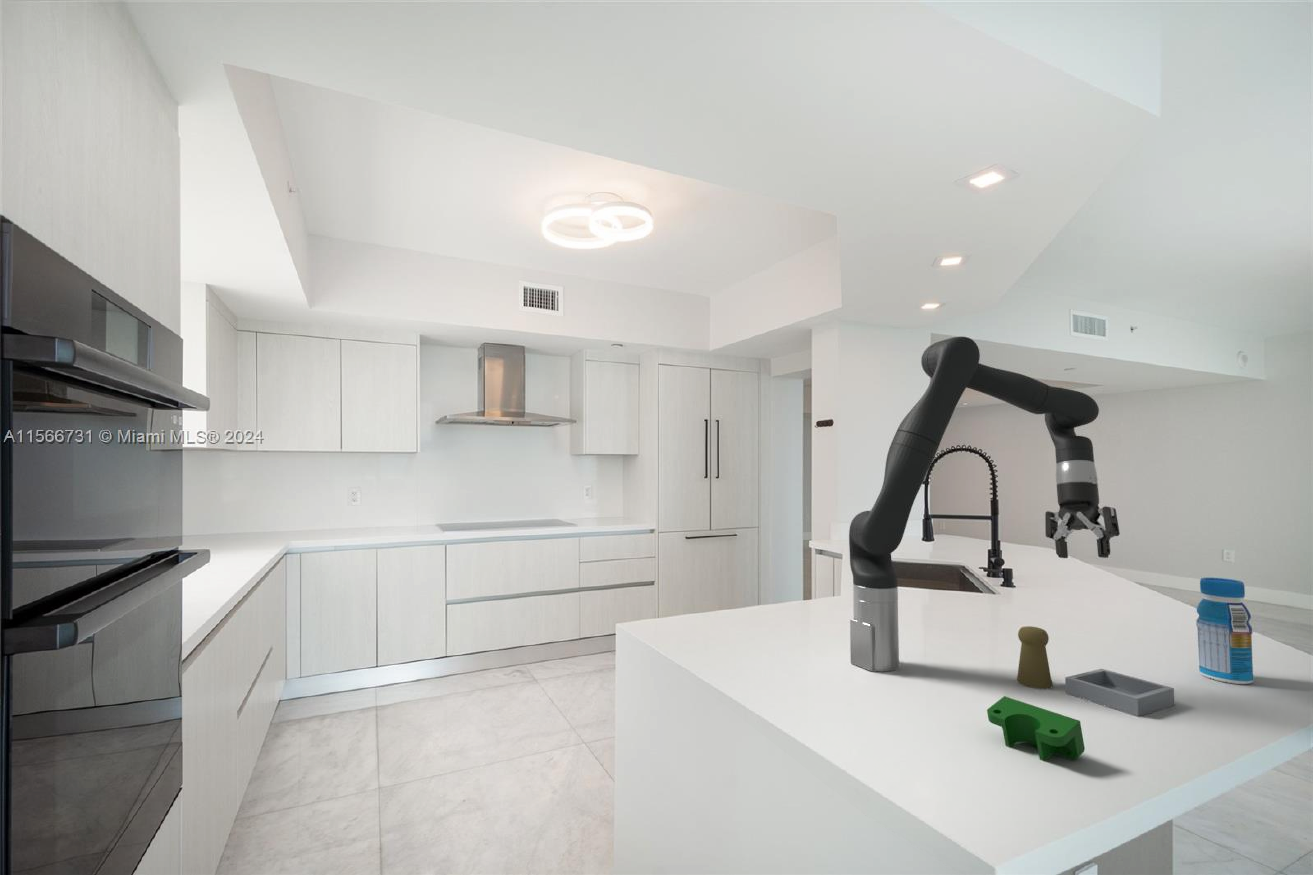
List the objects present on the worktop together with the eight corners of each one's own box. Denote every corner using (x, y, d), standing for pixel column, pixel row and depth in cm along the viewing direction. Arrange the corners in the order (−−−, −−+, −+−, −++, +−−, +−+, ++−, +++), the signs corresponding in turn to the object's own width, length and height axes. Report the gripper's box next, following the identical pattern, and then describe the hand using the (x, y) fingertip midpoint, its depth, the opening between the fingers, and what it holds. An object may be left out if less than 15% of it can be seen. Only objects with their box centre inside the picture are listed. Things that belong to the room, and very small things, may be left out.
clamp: (1005, 771, 94) (974, 712, 97) (1026, 753, 97) (995, 697, 100) (1078, 773, 85) (1041, 708, 87) (1098, 753, 88) (1062, 691, 90)
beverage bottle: (1197, 678, 124) (1193, 580, 125) (1198, 668, 131) (1195, 575, 132) (1255, 688, 119) (1250, 585, 120) (1253, 678, 125) (1249, 580, 126)
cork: (1058, 690, 118) (1056, 632, 118) (1023, 687, 119) (1022, 630, 119) (1044, 679, 123) (1043, 624, 124) (1012, 677, 125) (1010, 623, 125)
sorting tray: (1138, 716, 105) (1137, 698, 105) (1065, 693, 116) (1065, 677, 116) (1174, 705, 110) (1173, 688, 110) (1102, 683, 121) (1101, 668, 121)
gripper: (1034, 485, 139) (1039, 556, 135) (1098, 476, 126) (1106, 555, 122) (1057, 489, 142) (1062, 560, 138) (1122, 481, 129) (1130, 559, 125)
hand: (1082, 557), depth 130 cm, fingers open, 8 cm apart
